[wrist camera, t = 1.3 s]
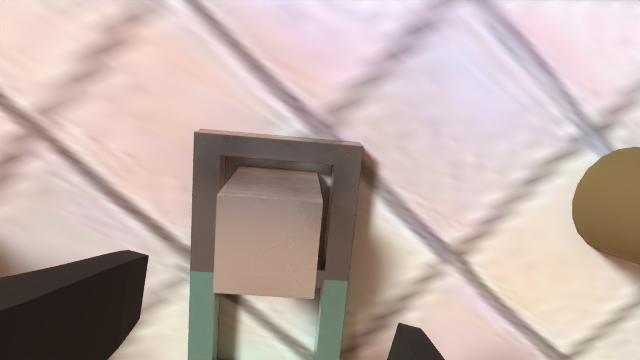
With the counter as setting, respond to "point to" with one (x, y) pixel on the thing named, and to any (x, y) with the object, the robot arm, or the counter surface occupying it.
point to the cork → (611, 204)
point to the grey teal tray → (338, 238)
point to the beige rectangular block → (268, 233)
